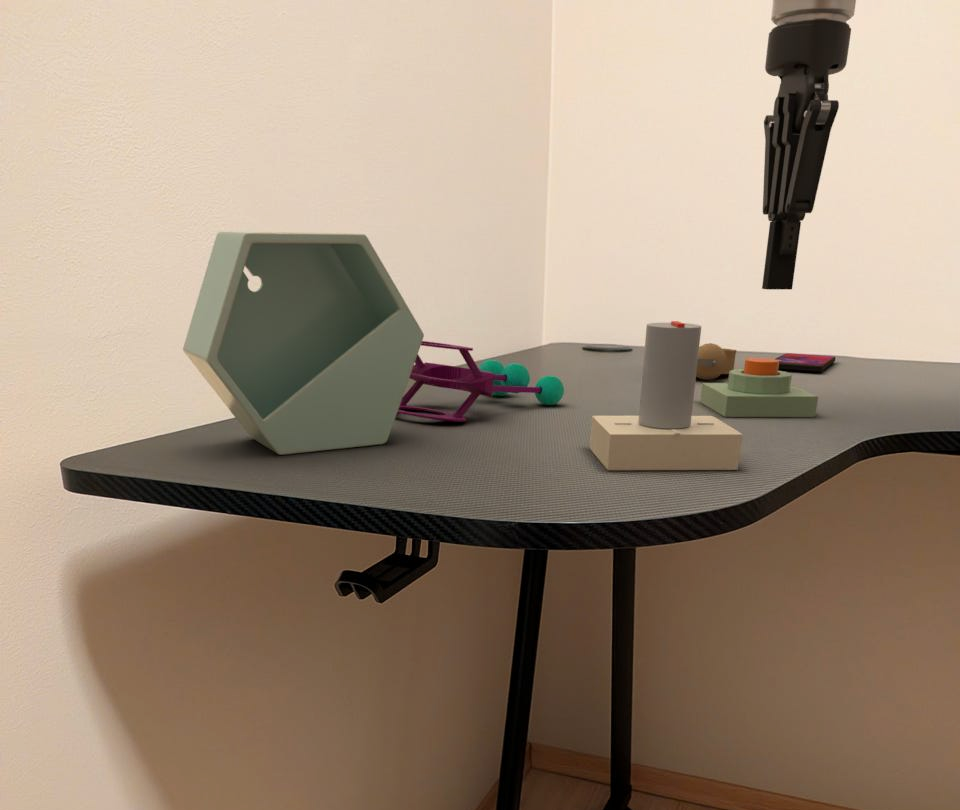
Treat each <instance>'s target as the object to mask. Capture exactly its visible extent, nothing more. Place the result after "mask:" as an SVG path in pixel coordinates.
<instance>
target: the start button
mask: <svg viewBox="0 0 960 810" xmlns="http://www.w3.org/2000/svg"><path fill="white" fill-rule="evenodd" d="M778 367H779V360H776V358H768V357H767V358H766V357H748V358H745V359H744V366H743V369H744V374H750V375H762V376H773V375H777V374H778V371H779V369H778Z"/></svg>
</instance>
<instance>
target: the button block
mask: <svg viewBox="0 0 960 810" xmlns="http://www.w3.org/2000/svg"><path fill="white" fill-rule="evenodd" d="M792 377H793V374H792V373H791V372H788V371H783V370H778V374H777V375H773V376H762V375H750V374H744V368H734V370H731V371H730V372H729V374H728V378H727V382H702V383H701V392H700V401H699V402H700V403H701V404H702V405H704V406H705V407H707V408H709V409H711V410H713V411H714V412H716V413H717V414H719V415H721V416H722V417H724V418H815V417H816V413H817V406H818V401H819V396H818V395H816V394H814V393H811V392H808V391H806V390H803V389H801V388H799V387H796V386H795V385H792Z"/></svg>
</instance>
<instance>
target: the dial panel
mask: <svg viewBox="0 0 960 810" xmlns="http://www.w3.org/2000/svg"><path fill="white" fill-rule="evenodd" d="M638 420H639V415H592V416H591V427H590V443H589V450H590V451H591V452H592V453H593V454H594V456H595V457H596V458H597V459H598V461H599V462H600V463H601V464H602V465H603V467H604V468H605V469H606V470H607V471H739V464H740V457H741V449H742V443H743V442H742V441H743V433H741V432H739V431H738V430H736V429H735V428H733V427H731V426H730V425H728V424H727V423H725V422H723V421H722V420H721V419H718V418H717V417H715V416H714V415H692V417H691V425H690V426H689V427H686V428H679V429H662V428H653V427H647V426H643V425H641V424H639V422H638Z"/></svg>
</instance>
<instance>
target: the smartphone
mask: <svg viewBox="0 0 960 810" xmlns="http://www.w3.org/2000/svg"><path fill="white" fill-rule="evenodd" d="M836 358H837V357H836V356H832V355H821V354H820V355H818V354H805V353H804V354H803V353H784V354H782V355H780V356H778V357H776V358H775V359H776V360H779V367H778V370H791V371H793V370H794V371H806V372H822V371H823V370H825V369H826V368H828V367H829V366H831V365H832V364H833V363H835V362H836Z"/></svg>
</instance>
